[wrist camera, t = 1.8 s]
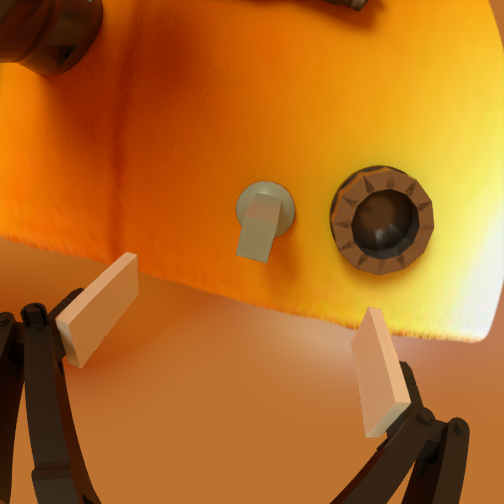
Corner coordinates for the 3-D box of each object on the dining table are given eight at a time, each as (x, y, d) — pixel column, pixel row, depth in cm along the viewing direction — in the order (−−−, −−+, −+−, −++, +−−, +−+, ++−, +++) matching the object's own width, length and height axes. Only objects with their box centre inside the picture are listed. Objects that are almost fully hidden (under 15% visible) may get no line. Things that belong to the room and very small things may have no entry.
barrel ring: (316, 249, 38) (318, 260, 35) (346, 151, 32) (352, 154, 29) (402, 273, 37) (410, 285, 34) (437, 185, 32) (449, 191, 29)
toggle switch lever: (233, 227, 38) (212, 263, 29) (244, 174, 35) (226, 194, 26) (286, 241, 38) (283, 281, 29) (301, 189, 35) (303, 214, 26)
